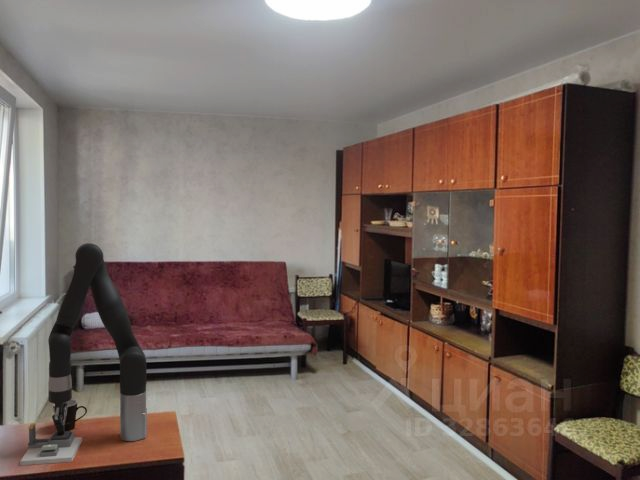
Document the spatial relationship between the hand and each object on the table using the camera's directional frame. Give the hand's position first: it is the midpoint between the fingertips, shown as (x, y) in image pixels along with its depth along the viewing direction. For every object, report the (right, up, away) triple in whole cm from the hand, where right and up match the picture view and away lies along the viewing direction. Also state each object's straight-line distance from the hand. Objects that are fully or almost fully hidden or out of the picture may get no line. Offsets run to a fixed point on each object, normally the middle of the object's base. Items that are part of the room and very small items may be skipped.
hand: (60, 434), depth 198 cm
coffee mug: (-4, -4, +16) cm, 17 cm away
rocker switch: (0, -2, -8) cm, 8 cm away
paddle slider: (-9, -3, -2) cm, 10 cm away
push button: (0, -3, 0) cm, 3 cm away
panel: (-1, -5, -4) cm, 6 cm away
